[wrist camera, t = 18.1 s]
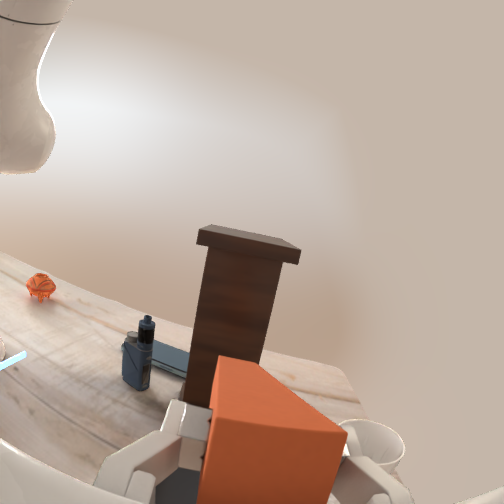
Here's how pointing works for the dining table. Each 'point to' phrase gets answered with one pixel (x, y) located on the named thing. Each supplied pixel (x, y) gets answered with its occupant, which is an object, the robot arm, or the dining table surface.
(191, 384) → the wooden display pedestal
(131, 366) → the vaping device
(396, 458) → the white cup
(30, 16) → the robot arm
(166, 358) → the smartphone
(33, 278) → the pot
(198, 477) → the seat base
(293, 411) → the orange long block
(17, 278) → the dining table surface
